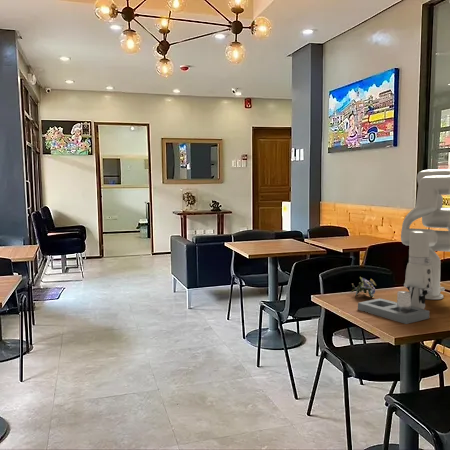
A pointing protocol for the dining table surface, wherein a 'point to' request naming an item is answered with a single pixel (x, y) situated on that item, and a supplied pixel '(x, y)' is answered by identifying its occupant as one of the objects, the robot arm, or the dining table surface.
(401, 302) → the steel pin
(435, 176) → the robot arm
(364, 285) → the toy creature figurine
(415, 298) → the salt shaker
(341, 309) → the dining table surface
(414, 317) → the hole plate
